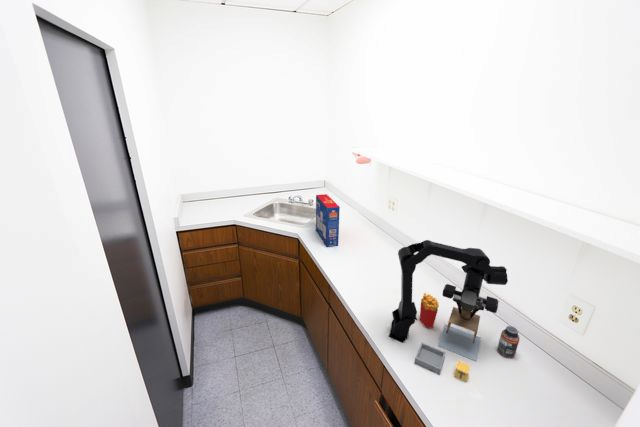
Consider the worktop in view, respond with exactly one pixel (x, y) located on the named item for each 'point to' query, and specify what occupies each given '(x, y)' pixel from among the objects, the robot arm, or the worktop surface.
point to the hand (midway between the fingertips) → (465, 315)
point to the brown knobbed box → (464, 320)
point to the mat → (460, 342)
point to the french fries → (428, 310)
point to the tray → (430, 358)
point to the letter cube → (462, 371)
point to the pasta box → (327, 220)
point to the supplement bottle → (508, 342)
